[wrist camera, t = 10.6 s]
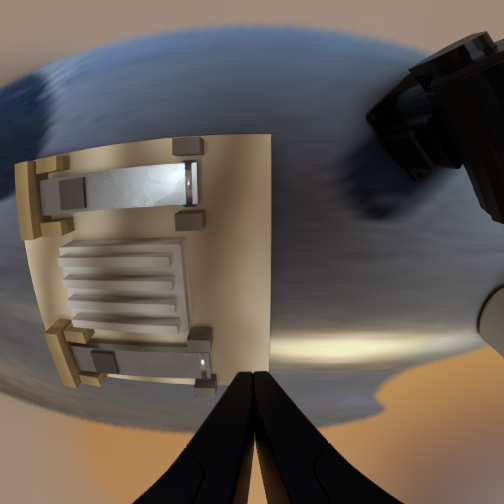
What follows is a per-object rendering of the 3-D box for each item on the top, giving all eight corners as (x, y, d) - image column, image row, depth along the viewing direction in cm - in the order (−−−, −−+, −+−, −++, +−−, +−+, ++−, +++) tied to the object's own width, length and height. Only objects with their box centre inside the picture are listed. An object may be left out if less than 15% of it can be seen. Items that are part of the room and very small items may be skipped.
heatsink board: (269, 135, 18) (276, 127, 14) (267, 376, 23) (271, 409, 20) (25, 164, 18) (-6, 166, 14) (64, 362, 23) (46, 386, 19)
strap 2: (208, 344, 21) (207, 353, 20) (211, 373, 22) (211, 382, 20) (74, 338, 20) (68, 346, 19) (83, 365, 21) (78, 373, 20)
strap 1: (198, 160, 17) (195, 159, 16) (199, 204, 18) (197, 207, 17) (45, 178, 16) (37, 179, 15) (48, 215, 17) (40, 218, 16)
